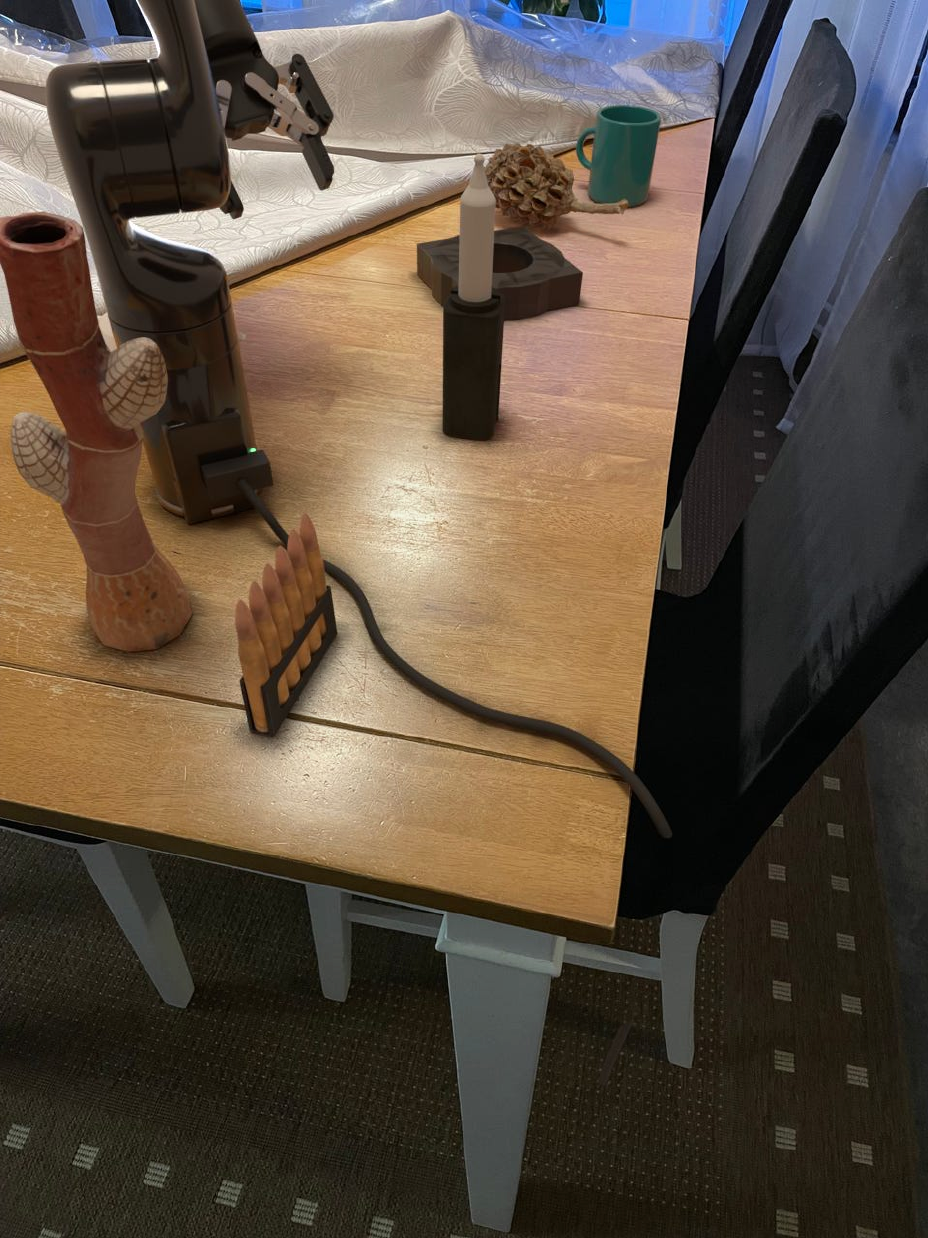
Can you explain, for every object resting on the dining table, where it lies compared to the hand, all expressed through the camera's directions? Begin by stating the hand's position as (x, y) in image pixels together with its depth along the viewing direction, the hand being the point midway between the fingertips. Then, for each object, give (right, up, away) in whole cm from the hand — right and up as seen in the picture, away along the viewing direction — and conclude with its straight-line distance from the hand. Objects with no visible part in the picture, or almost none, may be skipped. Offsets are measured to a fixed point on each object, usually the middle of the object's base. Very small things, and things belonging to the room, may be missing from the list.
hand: (284, 199), depth 75 cm
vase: (-8, -36, -8) cm, 38 cm away
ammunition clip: (+3, -41, -12) cm, 42 cm away
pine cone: (+28, +18, +47) cm, 58 cm away
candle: (+16, -17, +12) cm, 26 cm away
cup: (+37, +28, +57) cm, 73 cm away
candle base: (+19, +5, +33) cm, 39 cm away
